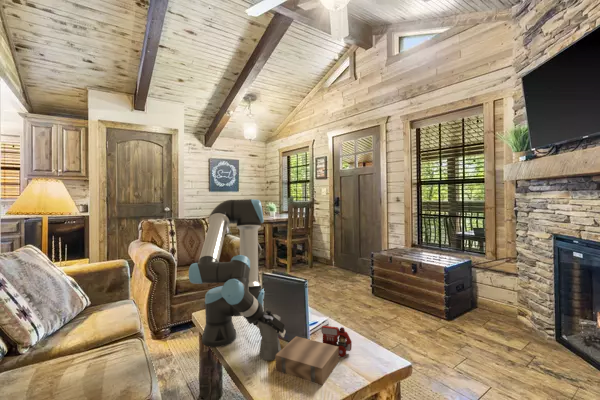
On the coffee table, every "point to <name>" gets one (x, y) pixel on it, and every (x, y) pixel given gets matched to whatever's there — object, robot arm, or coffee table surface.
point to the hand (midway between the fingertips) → (274, 331)
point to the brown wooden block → (307, 360)
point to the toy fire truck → (332, 338)
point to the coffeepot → (269, 340)
